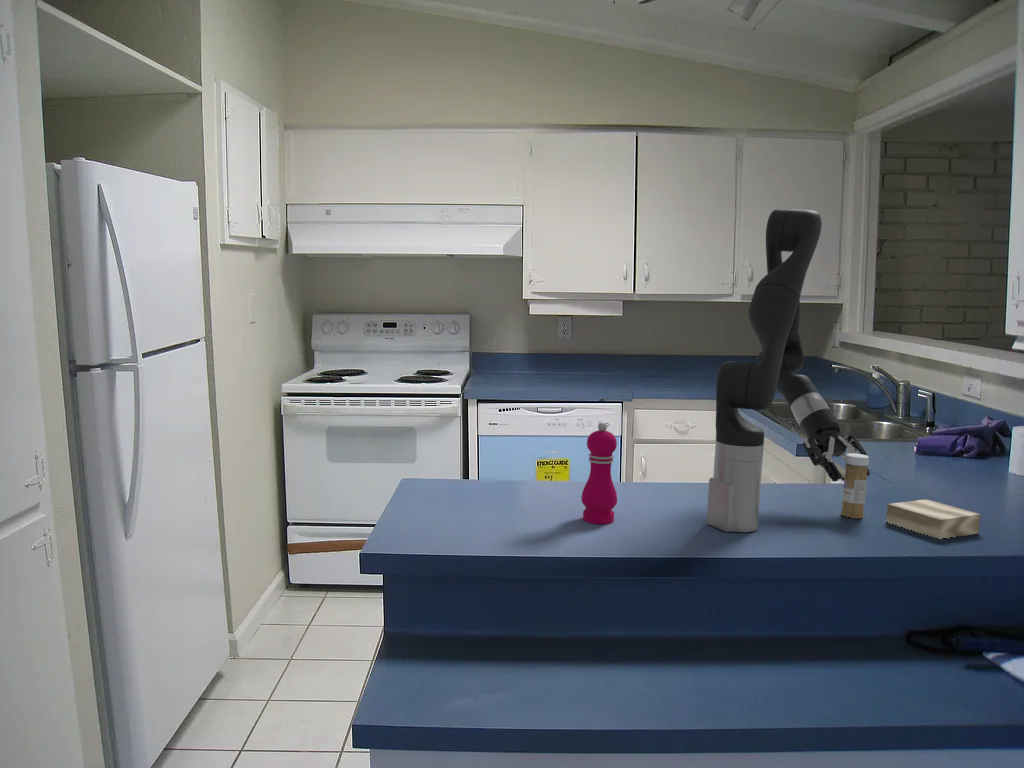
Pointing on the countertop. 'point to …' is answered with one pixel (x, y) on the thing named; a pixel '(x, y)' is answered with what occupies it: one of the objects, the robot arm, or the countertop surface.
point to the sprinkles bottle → (854, 485)
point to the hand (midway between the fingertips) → (852, 478)
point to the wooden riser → (933, 518)
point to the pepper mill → (600, 478)
